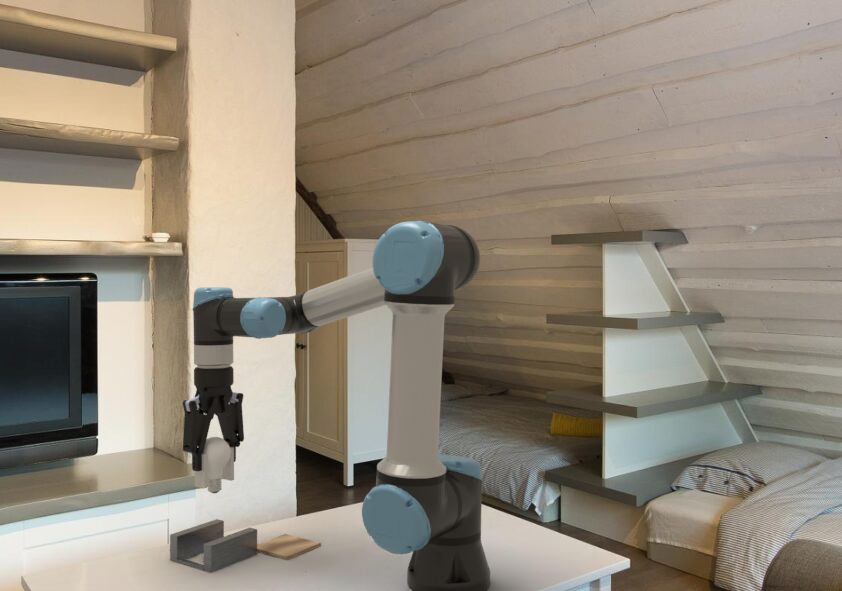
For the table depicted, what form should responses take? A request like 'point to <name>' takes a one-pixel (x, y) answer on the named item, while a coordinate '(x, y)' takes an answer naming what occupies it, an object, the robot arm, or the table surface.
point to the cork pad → (286, 546)
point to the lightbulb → (216, 461)
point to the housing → (212, 545)
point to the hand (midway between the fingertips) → (214, 482)
